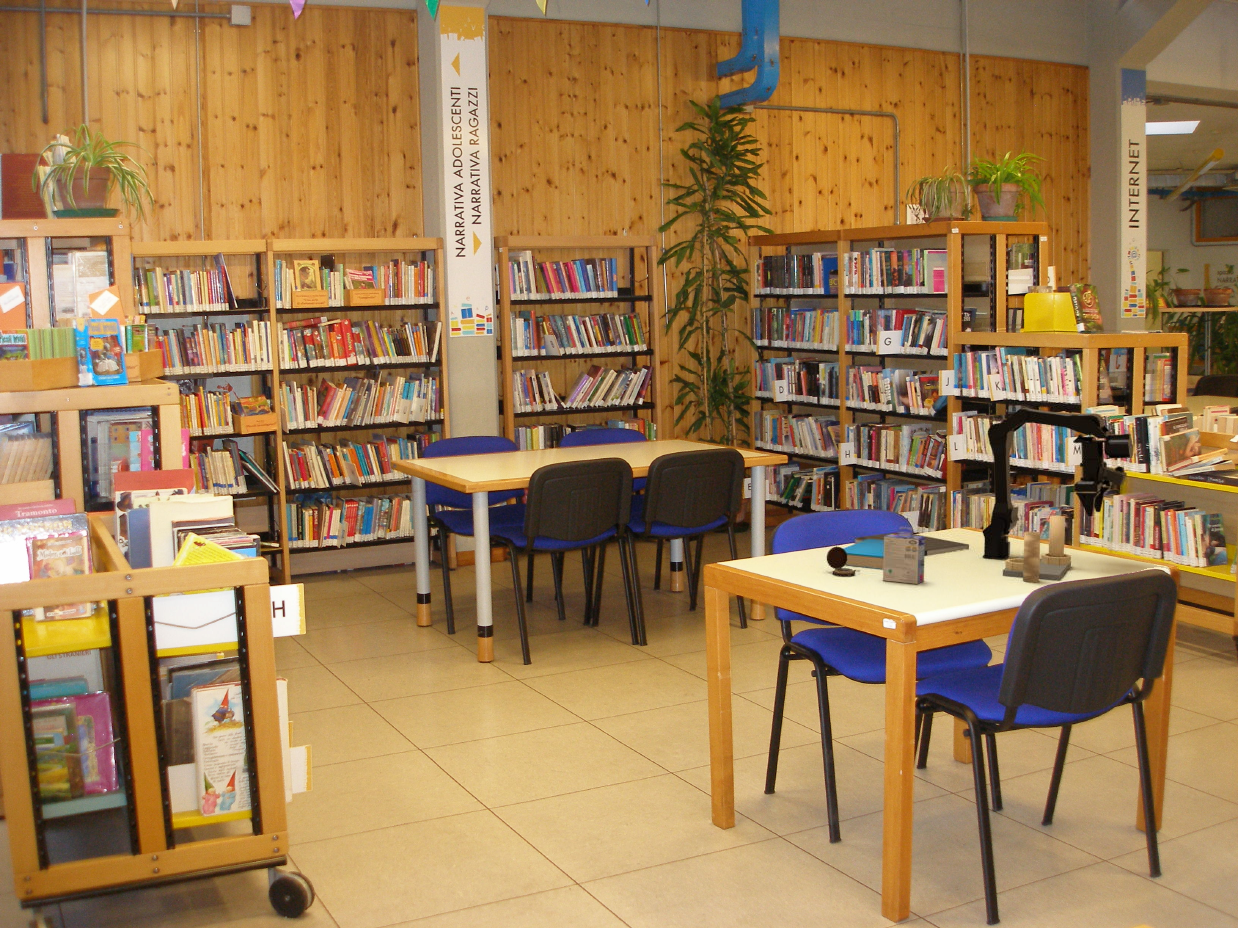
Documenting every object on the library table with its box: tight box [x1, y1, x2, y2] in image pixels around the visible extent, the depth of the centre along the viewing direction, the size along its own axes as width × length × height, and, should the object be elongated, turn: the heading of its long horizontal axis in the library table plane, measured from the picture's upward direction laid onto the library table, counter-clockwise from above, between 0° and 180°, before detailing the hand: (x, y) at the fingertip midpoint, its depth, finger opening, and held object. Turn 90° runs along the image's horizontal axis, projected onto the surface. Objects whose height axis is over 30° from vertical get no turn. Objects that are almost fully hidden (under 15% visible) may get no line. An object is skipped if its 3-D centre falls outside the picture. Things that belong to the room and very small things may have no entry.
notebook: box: [854, 531, 970, 557], centre depth 365 cm, size 22×2×28 cm
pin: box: [1022, 531, 1041, 583], centre depth 312 cm, size 4×4×13 cm
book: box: [842, 539, 884, 570], centre depth 343 cm, size 17×4×25 cm
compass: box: [826, 545, 861, 577], centre depth 324 cm, size 8×8×7 cm
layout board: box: [1002, 515, 1072, 582], centre depth 325 cm, size 15×22×14 cm
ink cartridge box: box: [882, 525, 925, 585], centre depth 313 cm, size 10×6×14 cm, turn 58°
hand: (1094, 514), depth 329 cm, fingers open, 9 cm apart
